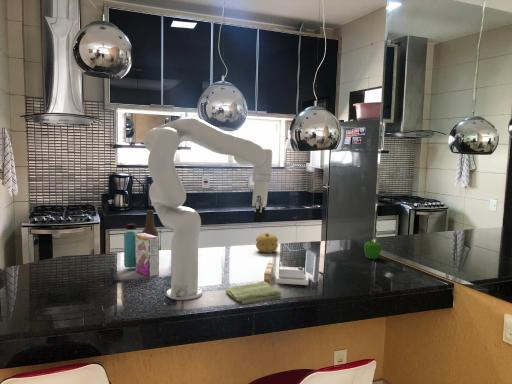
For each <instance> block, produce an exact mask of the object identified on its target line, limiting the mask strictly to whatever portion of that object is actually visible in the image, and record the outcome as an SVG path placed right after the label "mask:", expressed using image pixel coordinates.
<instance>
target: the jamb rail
mask: <svg viewBox="0 0 512 384" xmlns="http://www.w3.org/2000/svg"><path fill="white" fill-rule="evenodd" d="M266 264H267V265H266V267H265V270H264V273H263V275H264V276H263V281H264V282H267V283H268V284H270V286H272V285H271V284H272V280H273V278H274V277H273V276H274V266H275V265H274V264H275V263H274V262H268V263H266Z"/></svg>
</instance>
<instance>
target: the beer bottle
mask: <svg viewBox="0 0 512 384" xmlns="http://www.w3.org/2000/svg"><path fill="white" fill-rule="evenodd" d="M154 210H155V209H154ZM154 210H153V209H147V210H146V211H145V213H146V215H145V226H144V228H143V229H142V232H141V233H147V234H150V235H153V236H157V237H159V232H158V229H157V228H156V227H155V216H154V213H155V211H154Z"/></svg>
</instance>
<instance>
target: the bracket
mask: <svg viewBox="0 0 512 384" xmlns="http://www.w3.org/2000/svg"><path fill="white" fill-rule="evenodd" d="M275 276H276V277H275V284H282V285H283V284H285V285H286V284H287V285H298V286H299V285H302V286H303V285H304V286H309V274H304V280H302V279H285V278H279V272H278V273H276V275H275Z"/></svg>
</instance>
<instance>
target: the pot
mask: <svg viewBox="0 0 512 384" xmlns="http://www.w3.org/2000/svg"><path fill="white" fill-rule="evenodd" d="M278 241H279V239H278V237H277V235H275V234H270V233H268V232H266V233H263V234H259V235H258V236H256V238H255V242H256V243H255V247H256V249H257V250H258V251H260V252H262V253H267V254H269V253H272V252H275V251H276V250H277V248H278V246H279V244H278Z"/></svg>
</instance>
